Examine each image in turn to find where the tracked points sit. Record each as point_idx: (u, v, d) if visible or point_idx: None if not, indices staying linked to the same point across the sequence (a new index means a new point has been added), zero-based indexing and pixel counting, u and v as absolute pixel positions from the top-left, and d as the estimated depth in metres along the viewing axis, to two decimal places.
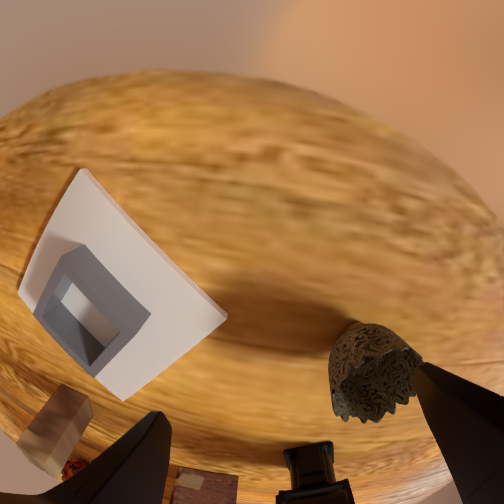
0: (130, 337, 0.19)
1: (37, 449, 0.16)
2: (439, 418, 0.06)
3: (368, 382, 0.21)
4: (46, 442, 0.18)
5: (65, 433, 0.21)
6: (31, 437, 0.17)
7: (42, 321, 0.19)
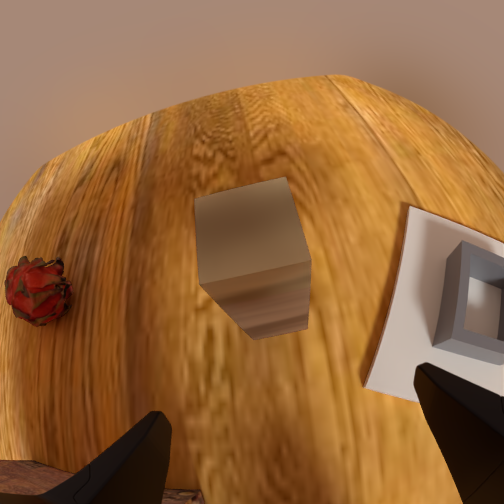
0: None
1: None
2: (439, 418, 0.06)
3: None
4: None
5: (303, 304, 0.16)
6: None
7: (466, 255, 0.17)
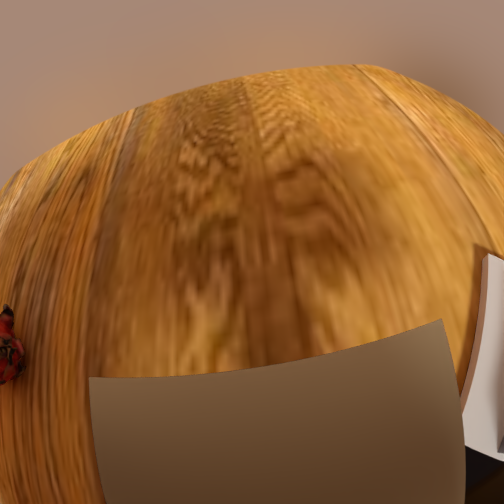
0: None
1: None
2: None
3: None
4: None
5: None
6: None
7: None
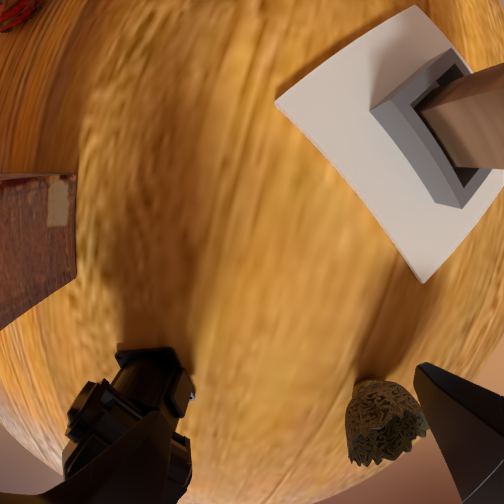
0: (459, 200, 0.14)
1: None
2: (439, 418, 0.06)
3: None
4: None
5: (499, 164, 0.10)
6: None
7: (449, 59, 0.11)
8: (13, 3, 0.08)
